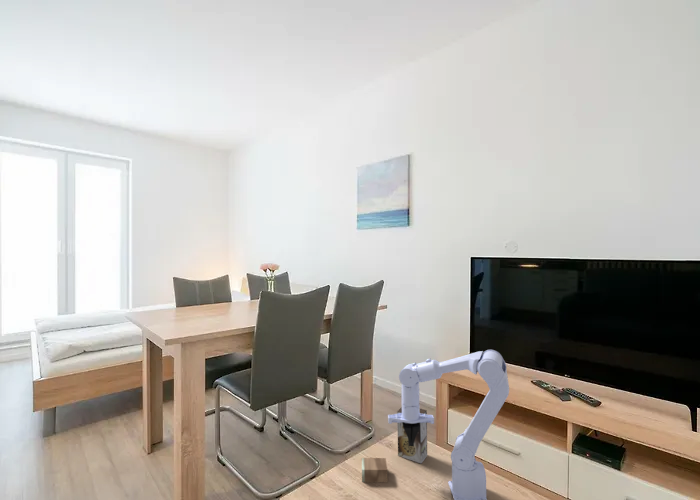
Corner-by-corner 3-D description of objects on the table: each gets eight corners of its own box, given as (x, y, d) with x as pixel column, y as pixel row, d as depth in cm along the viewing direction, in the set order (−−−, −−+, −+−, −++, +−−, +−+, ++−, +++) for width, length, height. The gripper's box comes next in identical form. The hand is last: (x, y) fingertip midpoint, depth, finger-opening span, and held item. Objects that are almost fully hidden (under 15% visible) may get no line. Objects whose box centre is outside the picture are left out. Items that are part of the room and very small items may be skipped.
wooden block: (385, 458, 114) (361, 457, 114) (387, 469, 108) (361, 469, 108) (385, 469, 114) (362, 469, 114) (387, 482, 108) (362, 482, 108)
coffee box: (428, 454, 122) (427, 409, 122) (421, 464, 117) (420, 417, 116) (404, 446, 127) (404, 403, 127) (396, 455, 122) (396, 410, 121)
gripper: (430, 397, 114) (431, 437, 114) (387, 397, 115) (387, 437, 115) (435, 407, 107) (435, 450, 107) (388, 407, 108) (389, 449, 108)
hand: (411, 444), depth 111 cm, fingers closed
